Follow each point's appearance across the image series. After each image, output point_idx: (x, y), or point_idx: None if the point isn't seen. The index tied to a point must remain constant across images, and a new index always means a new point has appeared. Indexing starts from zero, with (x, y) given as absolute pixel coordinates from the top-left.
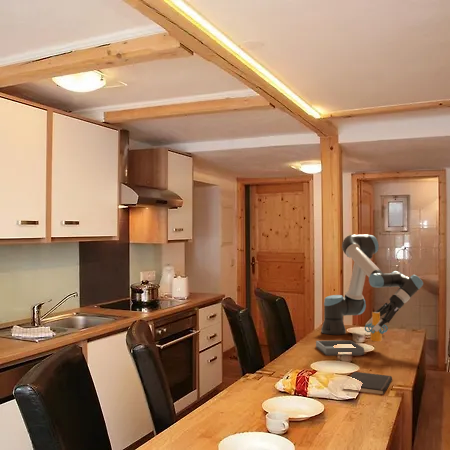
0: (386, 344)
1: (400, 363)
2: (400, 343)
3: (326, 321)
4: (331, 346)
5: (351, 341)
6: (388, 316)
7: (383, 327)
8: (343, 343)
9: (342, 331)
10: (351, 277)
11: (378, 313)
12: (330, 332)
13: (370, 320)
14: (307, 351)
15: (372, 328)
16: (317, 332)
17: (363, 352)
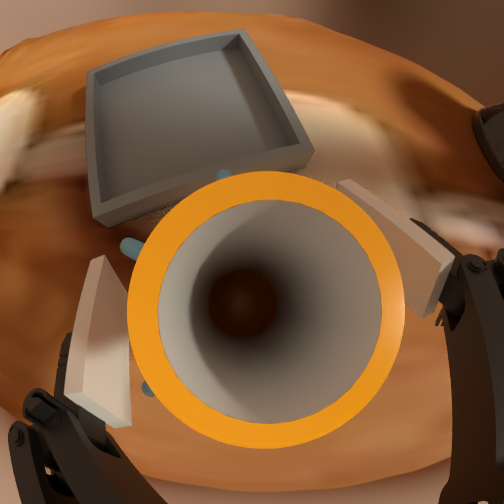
0: (415, 351)
1: (14, 376)
2: (438, 404)
3: (502, 104)
4: (235, 81)
5: (281, 147)
6: (25, 494)
7: (143, 388)
8: (281, 119)
9: (500, 165)
10: None
11: (156, 390)
12: (478, 126)
13: (383, 224)
14: (159, 38)
15: (123, 253)
16: (474, 104)
17: (102, 222)
